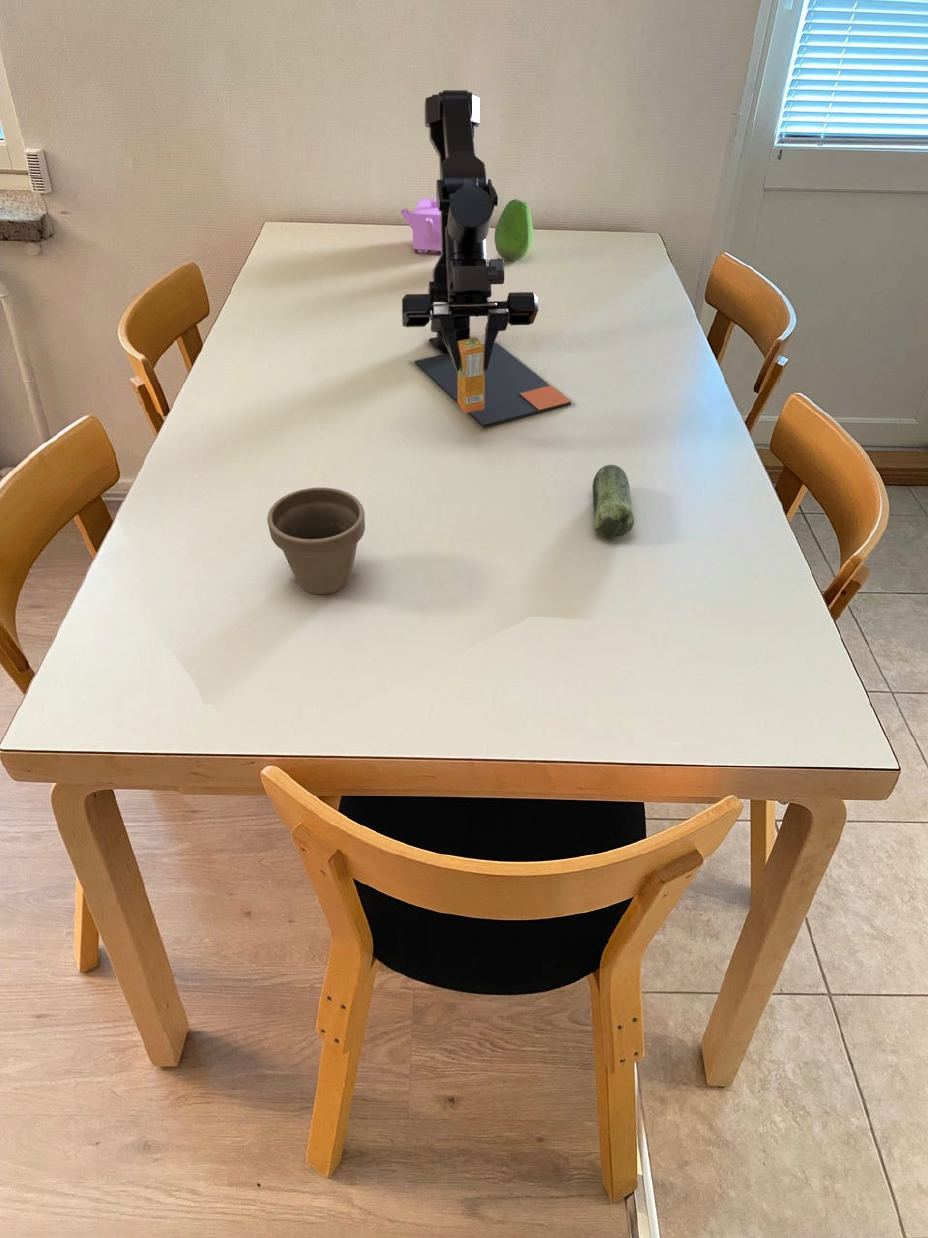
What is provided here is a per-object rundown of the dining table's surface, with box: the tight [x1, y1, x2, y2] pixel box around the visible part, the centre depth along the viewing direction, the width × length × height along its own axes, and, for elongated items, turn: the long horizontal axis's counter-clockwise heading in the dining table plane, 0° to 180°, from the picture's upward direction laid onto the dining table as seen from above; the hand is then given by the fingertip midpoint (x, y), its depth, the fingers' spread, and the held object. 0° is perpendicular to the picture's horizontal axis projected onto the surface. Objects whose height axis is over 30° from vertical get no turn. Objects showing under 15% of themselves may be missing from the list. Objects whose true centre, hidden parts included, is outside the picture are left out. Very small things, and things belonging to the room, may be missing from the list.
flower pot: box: [266, 486, 366, 595], centre depth 117 cm, size 12×11×10 cm
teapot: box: [400, 198, 441, 254], centre depth 201 cm, size 18×13×10 cm
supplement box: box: [457, 337, 484, 414], centre depth 137 cm, size 3×3×10 cm
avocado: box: [493, 198, 534, 262], centre depth 196 cm, size 8×8×12 cm
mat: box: [414, 341, 572, 428], centre depth 159 cm, size 24×16×1 cm, turn 29°
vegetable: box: [592, 464, 635, 539], centre depth 130 cm, size 14×5×5 cm, turn 176°
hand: (471, 370), depth 135 cm, fingers closed on supplement box, 3 cm apart
